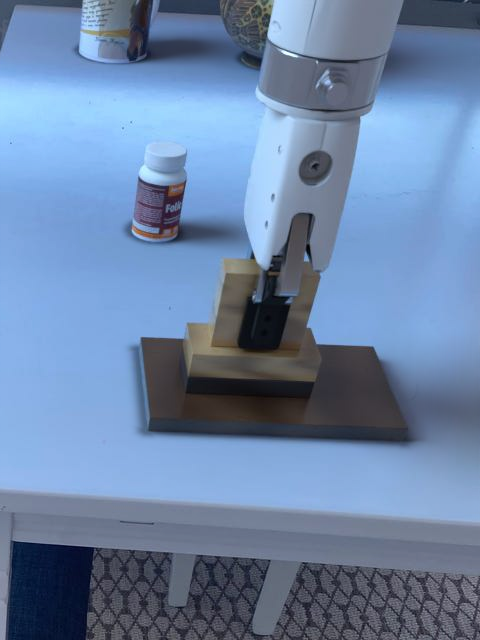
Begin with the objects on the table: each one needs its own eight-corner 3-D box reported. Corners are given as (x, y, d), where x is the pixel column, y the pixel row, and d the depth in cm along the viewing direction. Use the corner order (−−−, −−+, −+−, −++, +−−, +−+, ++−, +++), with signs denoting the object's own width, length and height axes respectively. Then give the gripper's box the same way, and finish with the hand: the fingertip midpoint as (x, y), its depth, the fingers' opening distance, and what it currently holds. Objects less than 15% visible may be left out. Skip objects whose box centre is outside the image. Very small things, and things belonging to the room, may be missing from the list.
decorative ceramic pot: (213, 55, 145) (206, -61, 134) (333, 25, 141) (336, -96, 131) (236, 114, 128) (230, -12, 118) (372, 82, 125) (379, -51, 114)
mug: (73, 42, 139) (79, -49, 131) (152, 41, 140) (163, -49, 132) (84, 65, 132) (92, -29, 124) (168, 64, 133) (181, -29, 125)
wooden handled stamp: (299, 365, 78) (332, 254, 71) (310, 398, 75) (345, 285, 68) (179, 360, 78) (200, 249, 71) (184, 393, 75) (206, 279, 68)
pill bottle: (167, 248, 95) (181, 161, 89) (124, 238, 96) (134, 151, 90) (183, 230, 98) (198, 145, 92) (141, 220, 99) (152, 135, 93)
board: (368, 361, 82) (373, 345, 80) (402, 444, 74) (409, 428, 72) (138, 352, 82) (140, 336, 81) (147, 434, 74) (149, 417, 73)
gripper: (409, 124, 55) (321, 397, 68) (351, 38, 65) (285, 288, 79) (280, 118, 55) (218, 392, 68) (244, 34, 66) (196, 284, 79)
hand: (254, 334), depth 74 cm, fingers closed on wooden handled stamp, 2 cm apart
